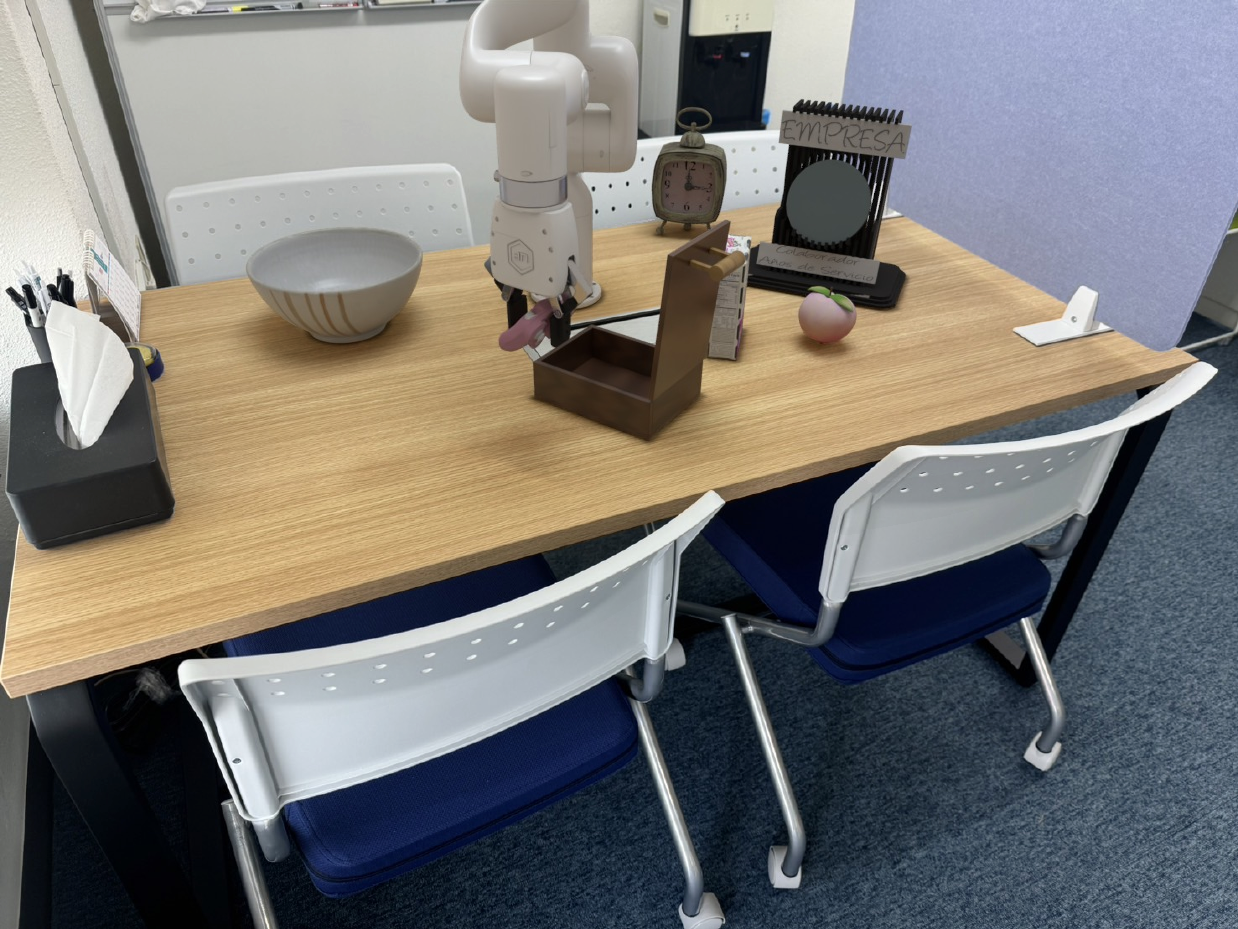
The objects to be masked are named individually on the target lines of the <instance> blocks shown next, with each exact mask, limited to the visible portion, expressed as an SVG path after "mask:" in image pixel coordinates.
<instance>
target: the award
mask: <svg viewBox="0 0 1238 929" xmlns="http://www.w3.org/2000/svg"><path fill="white" fill-rule="evenodd" d="M811 102H812V103H811ZM839 105H840V104H839V102H835V103H834V104H833V102H832V101H829V102H826V101H825V100H821V101H820V102H819V100H814V101H812V100H811V99H807V100H806V101H805V99H804V98H800V99H799V100H798V101H797V102H796V103H795V104H794V105H793V106H792V110H790V109H789V110H788V109H782V112H781V119H780V128H779V137H778V144H782V145H783V144H784V145H788V149H787V155H786V165H785V169H784V170H785V171H784V181H783V191H782V195H781V201H780V206H779V207H778V208H777V209H776V212H775V215H774V219H773V228H772V236H771V242H767V241H760V242H759V243H758V244H757V245H756V246H751V248H750V258H749V268H748V278H747V286H750V287H755V288H761V289H766V290H772V291H778V292H784V293H788V294H794V295H799V296H804V297H807V296H808V295H809V294H810V293H812V292H814V291H813V290H808V289H809V288H811V287H816V286H820V287H825V288H827V289H828V290H830V288H831V287H833V289H832V293H834V294H839V295H843V296H845V297H847V298H848V299H849V300H850V301H851V302H852V303H853V304H854V306H860V307H866V308H871V309H876V310H888V309H893V308H894V307H896V304H897V302H898V300H899V296H900V294H901V291H902V288H903V285H904V283H905V280H906V277H907V273H906V272H905V271H903V270H902V269H901V267H900V266H899V265H896V264H894V263H889V262H883V261H881V260H877V259H875V255H876V250H877V246H878V241H879V236H880V230H881V227H882V226H881V225H882V220H883V215H884V210H885V206H886V202H887V201H886V200H887V197H888V196H887V195H888V191H889V185H890V181H891V176H892V173H893V172H892V171H893V166H894V161H895V159H898V160H899V159H901V160H906V156H907V152H908V147H909V142H910V138H911V134H912V133H911V132H912V129H913V124H909V123H902V121H903V117H904V112H905V111H904V109H903V110H902V109H900V110H899V112H898V113H897V115H896V112H897V109H893V108H892V109H891V112H890V113H889V110H890V109H889V108H885V109H884V110H883V112H882V109H883V108H882V107H876V109H875V106H871V107H870V108H869V109H868V105H864V106H863V107H862V108H861V105H858V104H857V105H856V106H855V107H854V104H849V105H848V106H847V105H846V103H842V104H841V105H840V106H839ZM867 110H868V111H867ZM845 156H846V157H845ZM858 161H859V164H858Z"/></svg>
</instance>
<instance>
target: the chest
mask: <svg viewBox="0 0 1238 929" xmlns="http://www.w3.org/2000/svg"><path fill="white" fill-rule="evenodd" d="M655 344H656V343H655ZM655 344H654V343H651V342H649V341H646V340H642V339H639V338H635V337H632V336H630V335H626V334H623V333H620V332H617V331H614V330H610V329H607V328H604V327H602V326H598V325H595V324H590V325H588V326H586V327H585V328H584V329H582V330H581V331H579V332H577V333H576V334H574V335H573V336H570V339H569V340H567V341H566V342H564V343H563V344H561V345H560V346H558V347H557V348H555V347H553V348H552V349H550V350H549V351H547V352H546V353H544V354H543V355H541V356H540V357H538V358H537V359H535V360H533V361H532V377H533V378H532V379H533V397H534V399H537V400H539V401H541V402H544V403H547V404H550V405H552V406H555V407H558V408H560V409H563V410H565V411H568V412H571V413H574V414H576V415H578V416H582V417H584V418H586V419H589V420H592V421H595V422H597V423H599V424H602V425H605V426H608V427H610V428H613V429H615V430H618V431H621V432H623V433H626V434H628V435H631V436H633V437H637V438H639V439H642V440H645V441H647V442H649V441H650V440H651V439H652V438H654V437H655V436H656V435H657V434H658V433H659V432H660V431H662V430H663V429H664V428H665V427H666V426H667V425H669V424H670V423H671V422H672V421H673V420H674V419H675V418H677V417H678V416H679V415H681V413H682V412H683V411H685V410H686V409H687V408H688V407H689V406H690V405H692V404H693V403H694V402H695V401H696V400H697V399H698V398H700V397H701V395H702V394H701V393H702V392H701V391H702V381H703V371H704V370H703V369H704V360H703V361H702V362H701V363H699V364H698V365H697V366H696V367H695V368H693V369H692V370H691V371H690V372H688V373H687V374H686V375H685V376H683V377H682V378H681V379H680V380H679V381H677V382H676V383H675V384H674V385H672V386H671V387H670V388H669V389H668V390H666V391H665V392H664V393H663V394H661V395H660V396H659V397H658V398H656V399H655V400H654V401H651V400H648V395H649V388H650V381H651V373H652V366H653V359H654V351H655Z"/></svg>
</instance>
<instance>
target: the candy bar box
mask: <svg viewBox="0 0 1238 929" xmlns="http://www.w3.org/2000/svg"><path fill="white" fill-rule="evenodd" d="M752 239H753V238H752V236H749V235H736V234H733V235H732V234H730V233H729V234H728V240H727V245H726V251H725V252H728V253H733V252H734V251H737V250H738V251H741V252H743V253H744V255H745V258H746V261H745V263H744V265H742V266H741V267H739V268H738V269H737V270H735V271H734V272H732V273H731V274H729V275H728V276H727V277H725V278H724V279H722V280H721V281H720V284H719V290H718V295H717V301H716V306H715V312H714V317H713V323H712V329H711V334H710V340H709V345H708V351H707V357H708V358H711V359H720V360H729V361H737V359H738V354H739V349H740V344H741V340H742V334H743V330H744V317H745V308H746V299H747V298H746V297H747V286H748V285H747V278H748V268H749V258H750V248H752Z"/></svg>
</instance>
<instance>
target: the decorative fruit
mask: <svg viewBox="0 0 1238 929" xmlns="http://www.w3.org/2000/svg"><path fill="white" fill-rule="evenodd" d="M832 289H833V287H831V288H830V290H828V289H827V288H825V287H820V286H816V287H811V288H809V289H808V290H813V291H814V292H812V293H810V294H809V295H808V296H805V298H804V299H803V300H802V302H801V303H800V304H799V308H798V313H797V317H798V322H799V326H800V329H801V330H802V332H803V333H804V334H805V335H806V336H807V337H808V338H810V339H812V340H814V341H817V342H819V343H820V345H826V344H827V345H828V344H834V343H837V342H839V341H841V340H843V339H844V338H845V337H847V336H848V335H849V334H850V333H851V332H852V330H853V329H854V327H855V325H856V322H857V316H858V315H857V309H856V305H854V304H853V303H852V302H851V301H850V300H849V299H848V298H847V297H845V296H843V295H839V294H834V293H832Z"/></svg>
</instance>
